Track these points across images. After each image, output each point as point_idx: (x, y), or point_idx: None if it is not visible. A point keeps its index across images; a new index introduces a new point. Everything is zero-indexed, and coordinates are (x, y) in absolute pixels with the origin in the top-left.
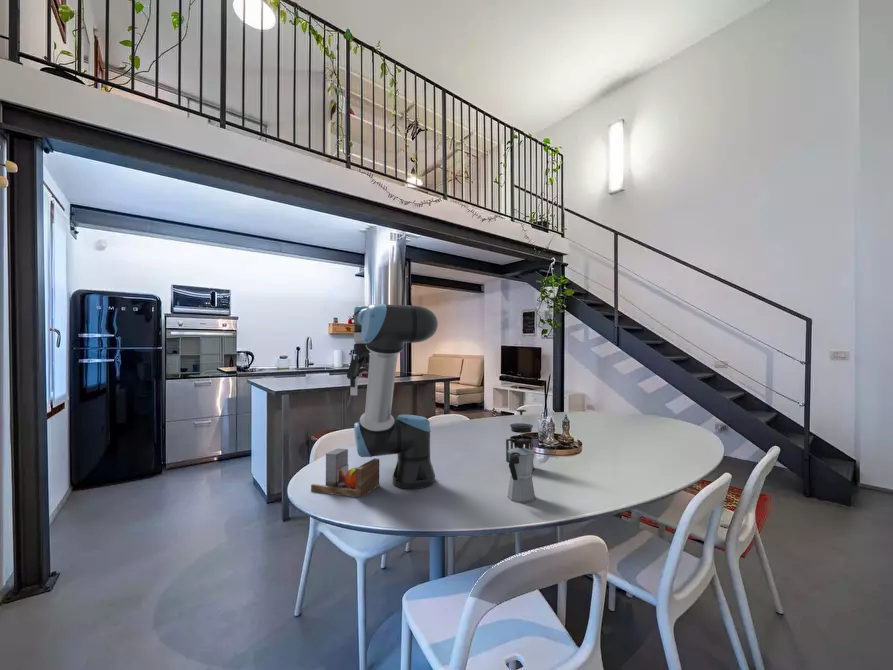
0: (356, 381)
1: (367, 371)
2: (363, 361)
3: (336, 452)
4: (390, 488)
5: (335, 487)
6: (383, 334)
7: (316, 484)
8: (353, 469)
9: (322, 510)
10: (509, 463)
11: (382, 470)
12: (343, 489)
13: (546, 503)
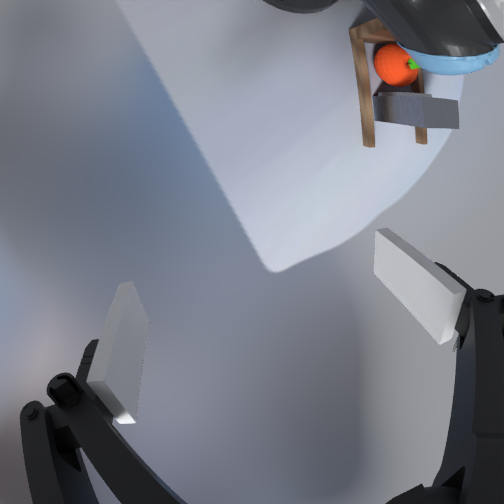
0: (450, 279)
1: (153, 471)
2: (487, 502)
3: (449, 108)
4: (351, 3)
5: (421, 91)
6: None
7: (423, 136)
8: (415, 65)
9: (457, 75)
10: None
11: (256, 74)
12: (421, 71)
13: None
